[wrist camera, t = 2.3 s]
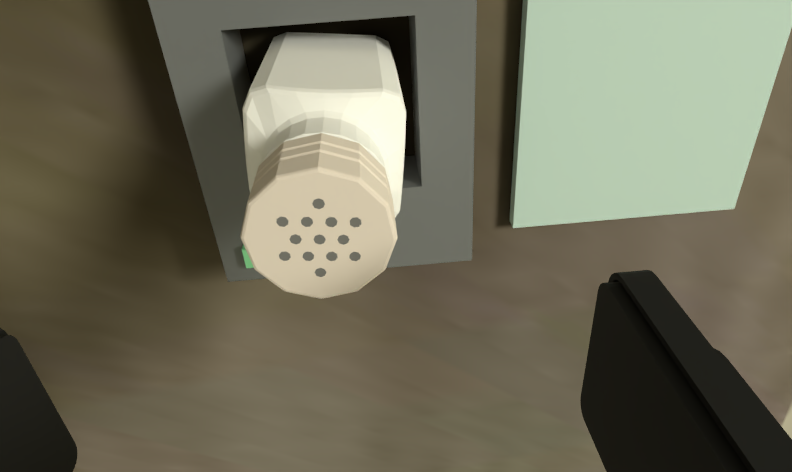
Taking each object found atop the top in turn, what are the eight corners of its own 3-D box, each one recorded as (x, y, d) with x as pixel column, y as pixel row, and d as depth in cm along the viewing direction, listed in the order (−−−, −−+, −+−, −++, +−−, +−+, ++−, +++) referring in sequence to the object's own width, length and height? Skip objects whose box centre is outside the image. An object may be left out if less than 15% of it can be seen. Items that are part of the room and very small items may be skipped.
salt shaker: (387, 143, 21) (410, 313, 13) (277, 141, 20) (230, 314, 12) (392, 31, 18) (424, 151, 11) (270, 26, 18) (206, 147, 10)
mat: (530, -131, 16) (536, -131, 16) (833, -153, 16) (848, -153, 16) (509, 220, 23) (512, 227, 22) (725, 201, 23) (734, 208, 23)
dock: (70, -412, 13) (3, -480, 10) (463, -435, 13) (489, -506, 10) (239, 243, 23) (226, 288, 20) (460, 224, 23) (474, 266, 20)
